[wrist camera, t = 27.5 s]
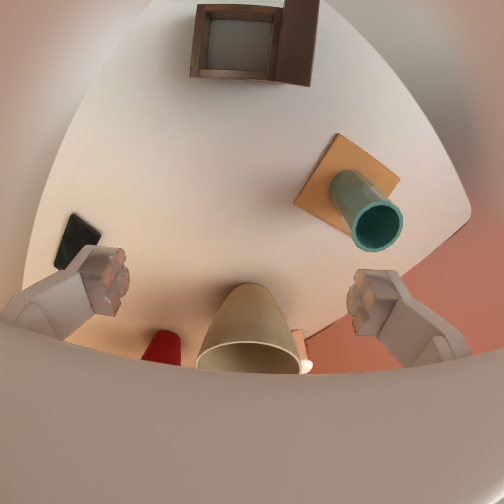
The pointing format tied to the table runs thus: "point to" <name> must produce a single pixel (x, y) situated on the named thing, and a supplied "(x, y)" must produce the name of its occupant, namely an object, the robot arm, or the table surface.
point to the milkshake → (302, 350)
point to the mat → (333, 163)
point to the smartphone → (74, 241)
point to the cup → (365, 211)
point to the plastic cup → (164, 349)
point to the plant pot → (249, 336)
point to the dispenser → (281, 41)
